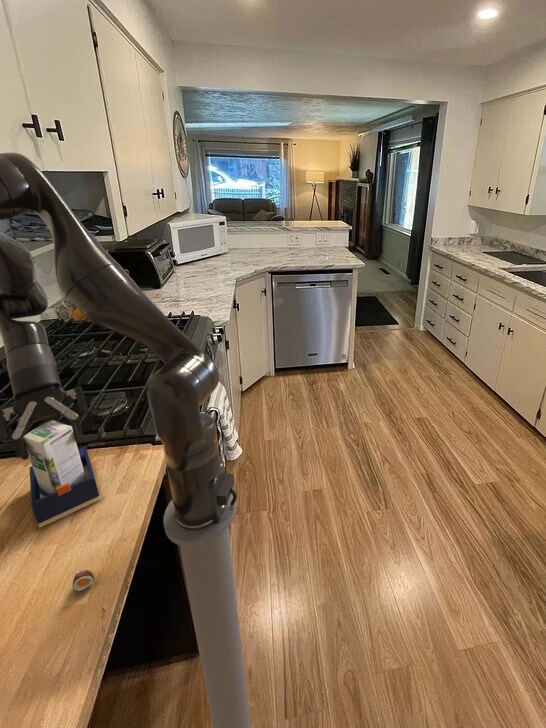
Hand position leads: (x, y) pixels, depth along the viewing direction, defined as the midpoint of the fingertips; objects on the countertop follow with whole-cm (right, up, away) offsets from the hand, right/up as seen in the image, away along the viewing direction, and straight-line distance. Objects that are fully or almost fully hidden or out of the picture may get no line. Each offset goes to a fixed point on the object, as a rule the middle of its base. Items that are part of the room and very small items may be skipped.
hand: (52, 449), depth 68 cm
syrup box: (-1, -10, +5) cm, 11 cm away
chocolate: (+13, -18, -10) cm, 24 cm away
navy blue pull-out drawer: (-2, -12, +6) cm, 14 cm away
